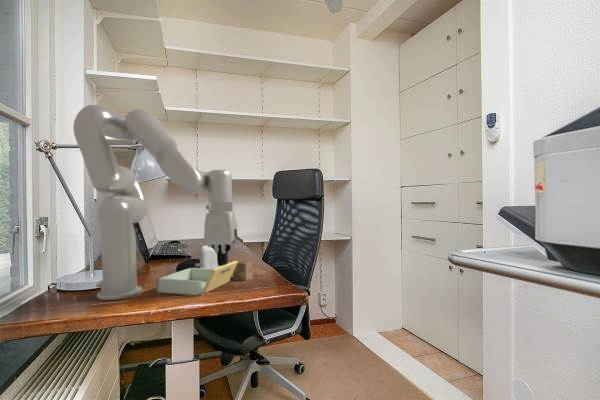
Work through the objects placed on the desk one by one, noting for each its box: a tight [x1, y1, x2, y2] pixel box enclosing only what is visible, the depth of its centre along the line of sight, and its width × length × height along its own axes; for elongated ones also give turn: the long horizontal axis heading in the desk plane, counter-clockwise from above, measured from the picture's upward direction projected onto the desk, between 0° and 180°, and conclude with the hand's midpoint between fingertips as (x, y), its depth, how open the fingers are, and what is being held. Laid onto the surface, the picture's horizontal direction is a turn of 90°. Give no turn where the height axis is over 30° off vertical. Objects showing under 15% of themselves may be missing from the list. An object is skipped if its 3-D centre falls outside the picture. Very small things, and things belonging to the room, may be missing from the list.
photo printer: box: [200, 244, 220, 269], centre depth 126 cm, size 10×4×12 cm, turn 125°
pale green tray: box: [155, 267, 232, 296], centre depth 106 cm, size 17×17×5 cm
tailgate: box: [203, 260, 238, 294], centre depth 103 cm, size 1×14×8 cm, turn 162°
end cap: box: [175, 257, 201, 273], centre depth 125 cm, size 10×7×7 cm
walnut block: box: [232, 260, 254, 282], centre depth 115 cm, size 5×5×7 cm
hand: (222, 265), depth 103 cm, fingers closed
